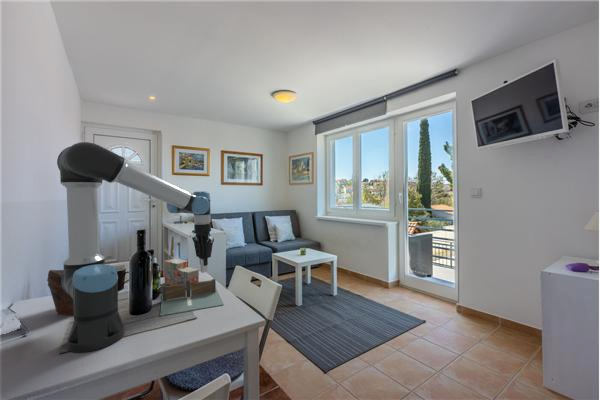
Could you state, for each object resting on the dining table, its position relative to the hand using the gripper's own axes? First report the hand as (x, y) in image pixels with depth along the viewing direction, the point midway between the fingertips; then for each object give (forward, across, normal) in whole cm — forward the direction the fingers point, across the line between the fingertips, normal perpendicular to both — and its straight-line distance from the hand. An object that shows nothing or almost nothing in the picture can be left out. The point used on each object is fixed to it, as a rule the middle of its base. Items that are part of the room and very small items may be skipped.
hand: (204, 271), depth 133 cm
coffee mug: (+9, +39, +20) cm, 45 cm away
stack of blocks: (+10, +18, 0) cm, 20 cm away
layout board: (+9, -4, +11) cm, 15 cm away
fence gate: (+9, -4, +4) cm, 10 cm away
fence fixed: (+9, +3, +13) cm, 16 cm away
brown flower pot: (+9, +30, +40) cm, 50 cm away
